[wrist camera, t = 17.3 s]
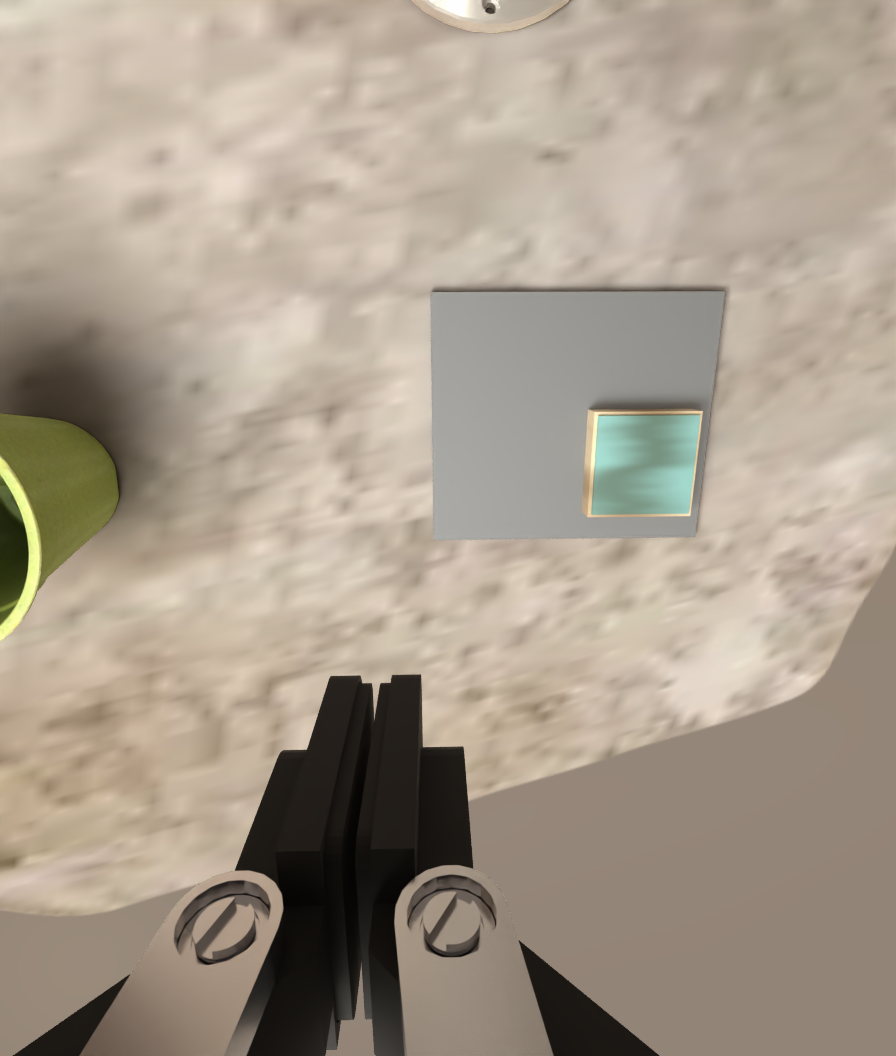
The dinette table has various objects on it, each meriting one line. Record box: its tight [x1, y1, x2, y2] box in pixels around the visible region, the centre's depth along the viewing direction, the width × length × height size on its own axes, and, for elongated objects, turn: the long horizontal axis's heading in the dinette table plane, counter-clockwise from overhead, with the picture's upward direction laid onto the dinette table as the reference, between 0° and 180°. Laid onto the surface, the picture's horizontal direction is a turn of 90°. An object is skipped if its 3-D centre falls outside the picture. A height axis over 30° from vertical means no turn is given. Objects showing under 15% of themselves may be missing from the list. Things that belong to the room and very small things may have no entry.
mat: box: [431, 291, 725, 540], centre depth 34 cm, size 14×16×1 cm
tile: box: [582, 409, 703, 517], centre depth 34 cm, size 6×2×6 cm
